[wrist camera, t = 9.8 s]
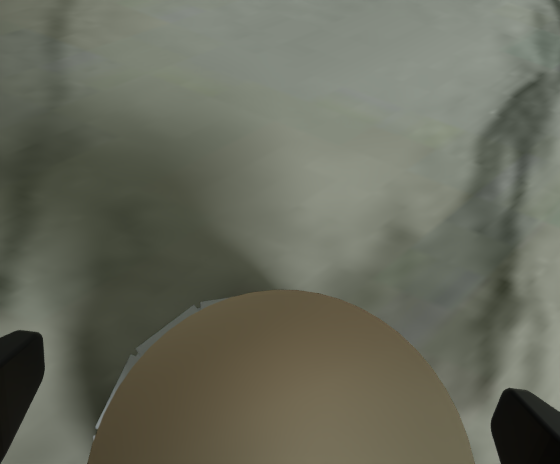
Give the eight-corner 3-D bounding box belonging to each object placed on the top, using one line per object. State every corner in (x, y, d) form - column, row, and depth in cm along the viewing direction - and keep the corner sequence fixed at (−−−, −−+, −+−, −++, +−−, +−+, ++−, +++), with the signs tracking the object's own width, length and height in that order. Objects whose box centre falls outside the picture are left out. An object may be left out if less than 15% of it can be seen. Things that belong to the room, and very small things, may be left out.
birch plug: (347, 495, 15) (553, 625, 5) (200, 558, 14) (131, 861, 4) (296, 348, 17) (384, 249, 7) (161, 395, 16) (49, 353, 6)
